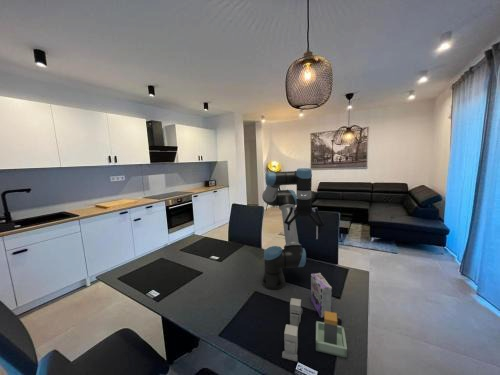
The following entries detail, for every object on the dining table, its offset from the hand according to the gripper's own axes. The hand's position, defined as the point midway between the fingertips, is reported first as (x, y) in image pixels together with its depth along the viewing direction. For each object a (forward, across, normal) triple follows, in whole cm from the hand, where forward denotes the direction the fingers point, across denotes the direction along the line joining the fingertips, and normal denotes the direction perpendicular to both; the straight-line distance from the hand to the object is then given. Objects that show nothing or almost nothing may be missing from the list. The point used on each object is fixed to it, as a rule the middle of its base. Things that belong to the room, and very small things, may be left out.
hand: (303, 237), depth 111 cm
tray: (+39, +13, -22) cm, 46 cm away
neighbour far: (+39, -3, -12) cm, 41 cm away
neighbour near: (+39, -3, -30) cm, 49 cm away
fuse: (+38, +13, -22) cm, 46 cm away
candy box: (+39, +9, -1) cm, 40 cm away
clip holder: (+39, -3, -21) cm, 44 cm away
